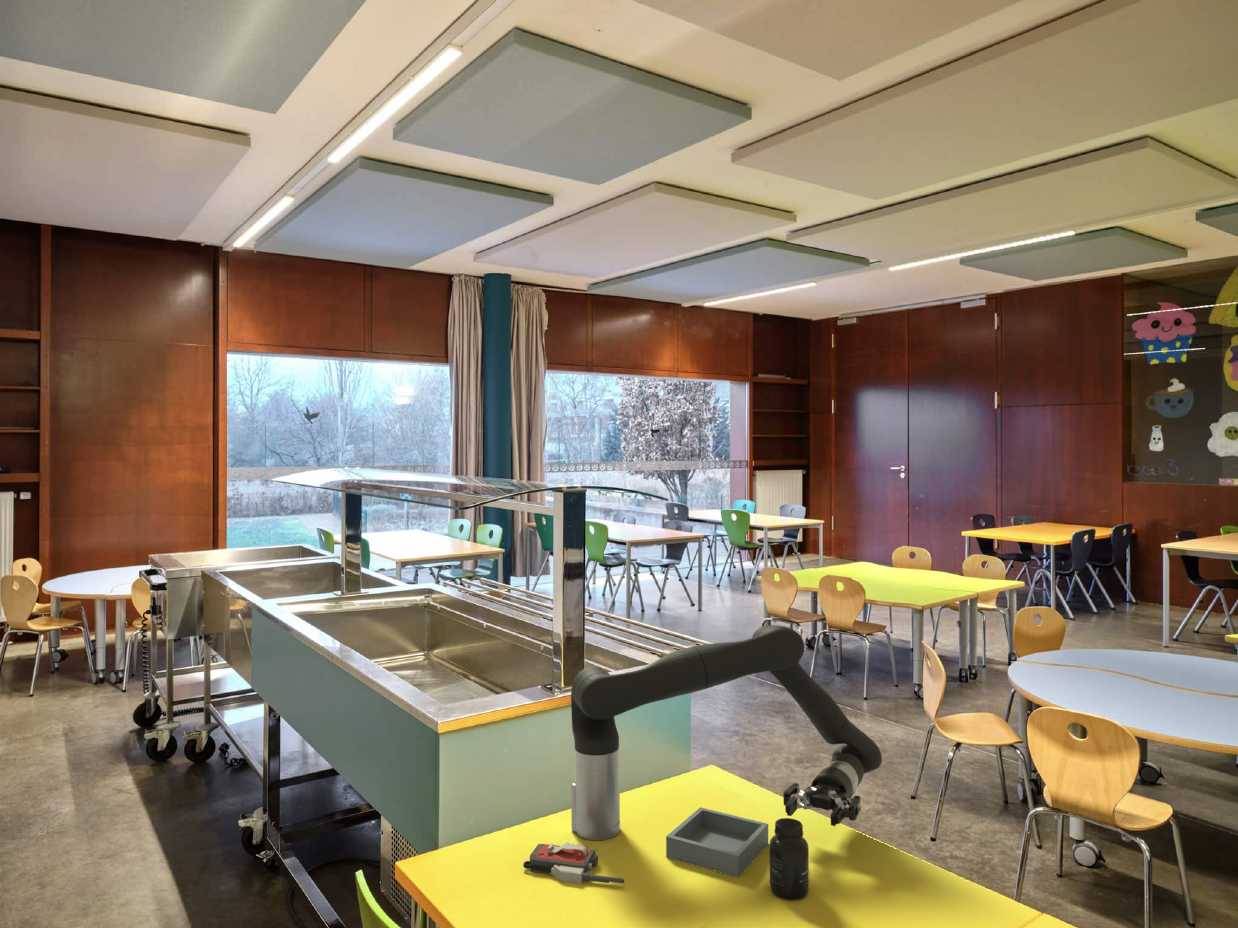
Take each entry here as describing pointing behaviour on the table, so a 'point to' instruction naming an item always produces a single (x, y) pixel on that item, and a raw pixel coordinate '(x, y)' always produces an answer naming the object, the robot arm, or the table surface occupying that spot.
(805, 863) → the supplement bottle
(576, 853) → the walkie-talkie
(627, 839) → the table surface
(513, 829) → the table surface
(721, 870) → the tray
